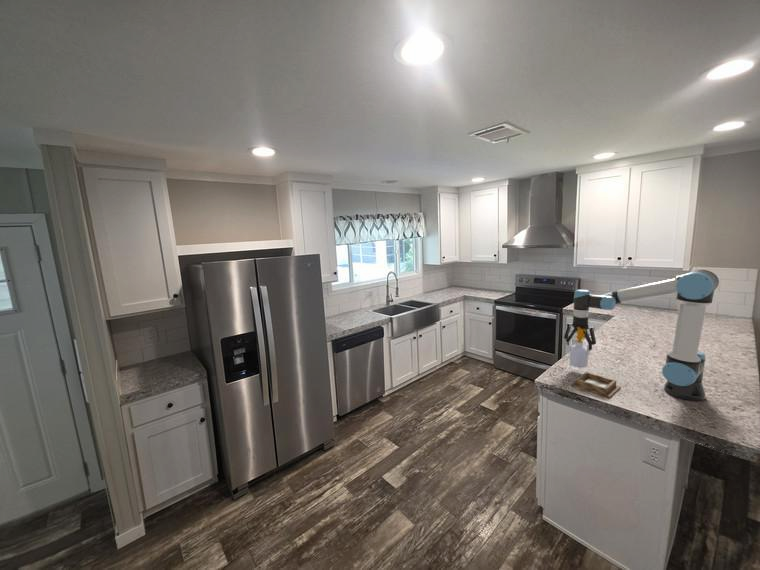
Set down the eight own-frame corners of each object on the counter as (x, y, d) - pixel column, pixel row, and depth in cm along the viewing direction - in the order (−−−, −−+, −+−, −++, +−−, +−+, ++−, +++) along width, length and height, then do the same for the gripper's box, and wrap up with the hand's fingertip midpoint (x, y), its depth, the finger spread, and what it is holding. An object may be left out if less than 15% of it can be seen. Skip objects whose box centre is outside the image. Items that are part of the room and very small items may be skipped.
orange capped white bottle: (584, 362, 191) (586, 323, 187) (589, 368, 182) (591, 327, 179) (567, 361, 193) (569, 322, 190) (572, 367, 185) (574, 327, 181)
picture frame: (620, 388, 168) (621, 381, 168) (609, 398, 159) (610, 391, 158) (583, 376, 183) (583, 370, 182) (571, 385, 173) (571, 378, 173)
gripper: (604, 318, 177) (602, 356, 180) (563, 312, 194) (562, 346, 198) (599, 320, 172) (597, 359, 176) (558, 314, 190) (556, 349, 193)
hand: (578, 352), depth 187 cm, fingers closed on orange capped white bottle, 9 cm apart
